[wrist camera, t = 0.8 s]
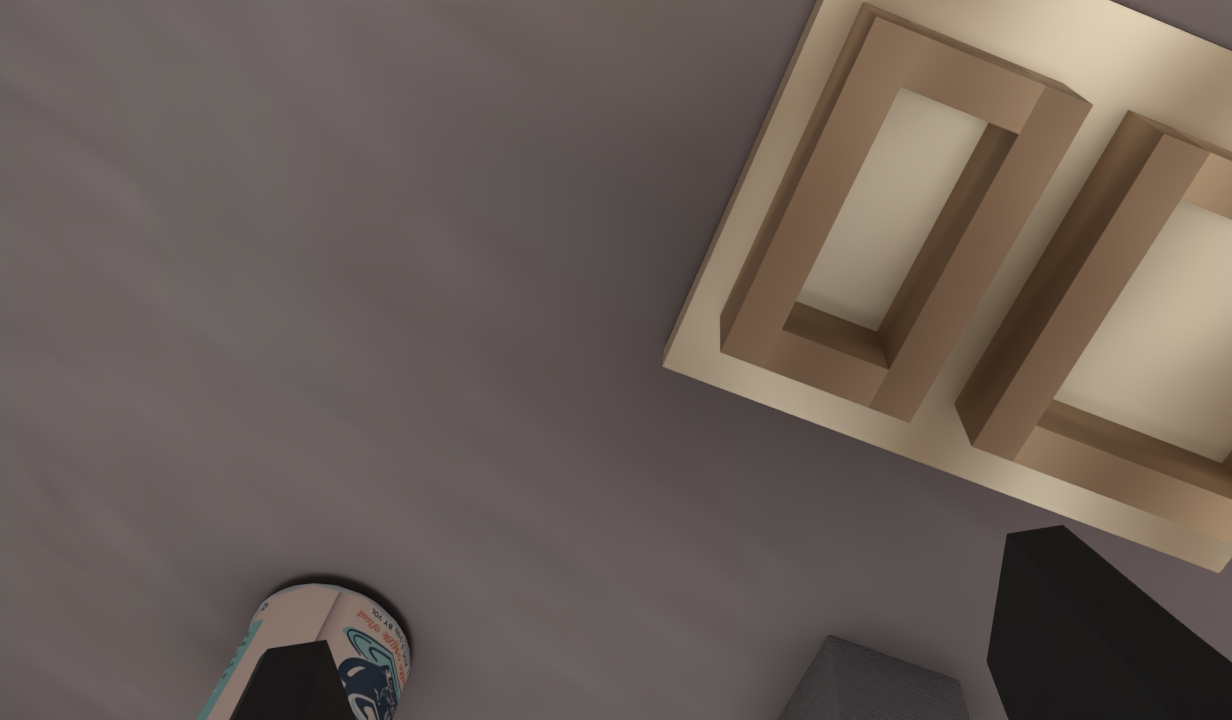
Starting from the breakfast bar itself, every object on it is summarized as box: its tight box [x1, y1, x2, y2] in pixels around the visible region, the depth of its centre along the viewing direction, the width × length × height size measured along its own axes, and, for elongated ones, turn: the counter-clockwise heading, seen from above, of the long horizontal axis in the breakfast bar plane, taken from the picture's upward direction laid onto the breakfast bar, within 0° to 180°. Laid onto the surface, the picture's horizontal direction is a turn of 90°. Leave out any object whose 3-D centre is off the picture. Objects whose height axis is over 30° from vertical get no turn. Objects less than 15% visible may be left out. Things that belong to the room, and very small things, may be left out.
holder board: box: [663, 0, 1232, 573], centre depth 24 cm, size 15×11×3 cm
